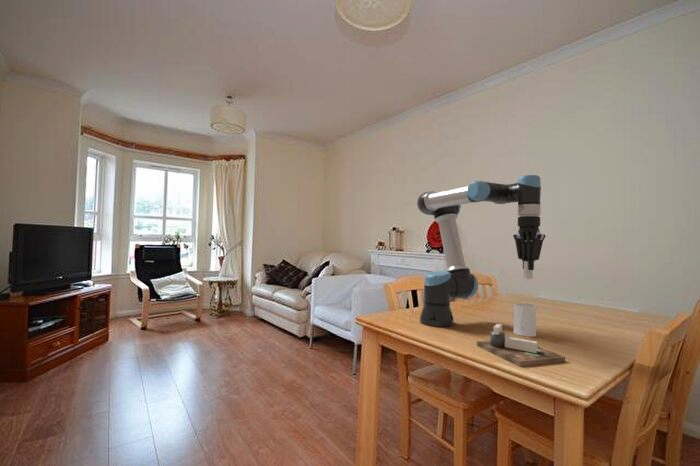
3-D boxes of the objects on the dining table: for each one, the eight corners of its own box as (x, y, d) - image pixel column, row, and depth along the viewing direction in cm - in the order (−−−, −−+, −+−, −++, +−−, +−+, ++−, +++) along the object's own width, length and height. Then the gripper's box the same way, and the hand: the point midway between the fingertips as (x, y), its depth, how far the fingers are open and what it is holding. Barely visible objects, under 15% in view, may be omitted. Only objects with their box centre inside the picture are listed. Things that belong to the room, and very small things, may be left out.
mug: (530, 339, 126) (530, 309, 126) (507, 334, 132) (507, 305, 132) (539, 334, 134) (539, 305, 135) (517, 329, 141) (517, 302, 141)
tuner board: (476, 345, 118) (476, 340, 118) (516, 342, 123) (516, 337, 123) (519, 366, 98) (519, 361, 98) (565, 361, 103) (565, 356, 103)
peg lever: (488, 345, 112) (488, 326, 112) (492, 342, 117) (492, 323, 117) (543, 357, 102) (544, 335, 102) (545, 352, 107) (545, 331, 107)
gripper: (507, 216, 128) (507, 276, 127) (535, 214, 115) (534, 280, 115) (523, 217, 130) (522, 276, 129) (551, 215, 117) (551, 280, 117)
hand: (528, 278), depth 122 cm, fingers closed
